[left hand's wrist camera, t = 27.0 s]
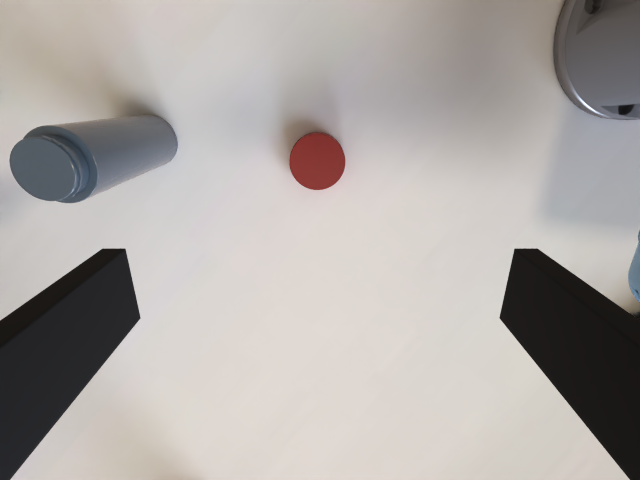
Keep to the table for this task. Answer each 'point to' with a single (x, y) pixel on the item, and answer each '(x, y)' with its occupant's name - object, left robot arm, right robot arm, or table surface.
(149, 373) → the table surface
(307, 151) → the lid
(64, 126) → the jar
